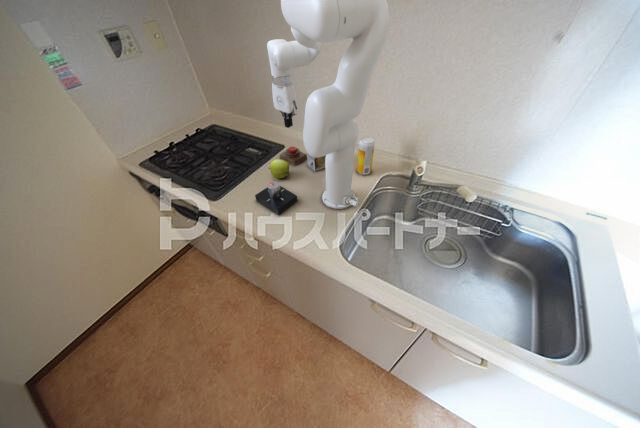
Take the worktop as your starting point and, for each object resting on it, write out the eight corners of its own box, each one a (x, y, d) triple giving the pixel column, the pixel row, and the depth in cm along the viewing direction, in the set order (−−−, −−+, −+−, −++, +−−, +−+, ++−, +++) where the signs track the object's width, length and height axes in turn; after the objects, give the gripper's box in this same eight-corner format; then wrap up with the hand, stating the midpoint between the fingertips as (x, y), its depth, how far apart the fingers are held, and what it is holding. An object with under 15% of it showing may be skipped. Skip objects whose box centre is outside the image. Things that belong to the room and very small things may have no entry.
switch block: (306, 158, 114) (305, 150, 111) (294, 165, 110) (293, 158, 107) (292, 151, 119) (291, 144, 116) (280, 158, 115) (279, 151, 112)
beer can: (367, 166, 107) (370, 135, 96) (373, 173, 103) (377, 142, 92) (354, 169, 106) (357, 138, 95) (360, 177, 102) (363, 145, 91)
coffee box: (323, 159, 113) (322, 126, 102) (331, 165, 109) (331, 131, 98) (307, 165, 110) (304, 132, 98) (315, 172, 106) (312, 138, 94)
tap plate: (297, 201, 92) (296, 195, 90) (278, 215, 87) (277, 209, 85) (275, 188, 99) (274, 182, 96) (256, 201, 93) (254, 194, 91)
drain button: (297, 151, 112) (297, 148, 111) (292, 154, 110) (292, 151, 109) (292, 149, 114) (292, 145, 113) (287, 152, 112) (286, 148, 111)
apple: (270, 172, 107) (267, 156, 101) (290, 170, 107) (288, 155, 102) (269, 182, 101) (265, 167, 96) (290, 180, 102) (288, 165, 96)
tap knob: (283, 194, 91) (281, 183, 87) (275, 200, 88) (272, 189, 85) (276, 190, 93) (273, 179, 89) (267, 195, 91) (264, 184, 87)
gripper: (262, 79, 92) (271, 125, 105) (289, 85, 85) (295, 134, 98) (276, 74, 96) (283, 119, 109) (303, 80, 89) (307, 127, 102)
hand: (288, 126), depth 103 cm, fingers closed
